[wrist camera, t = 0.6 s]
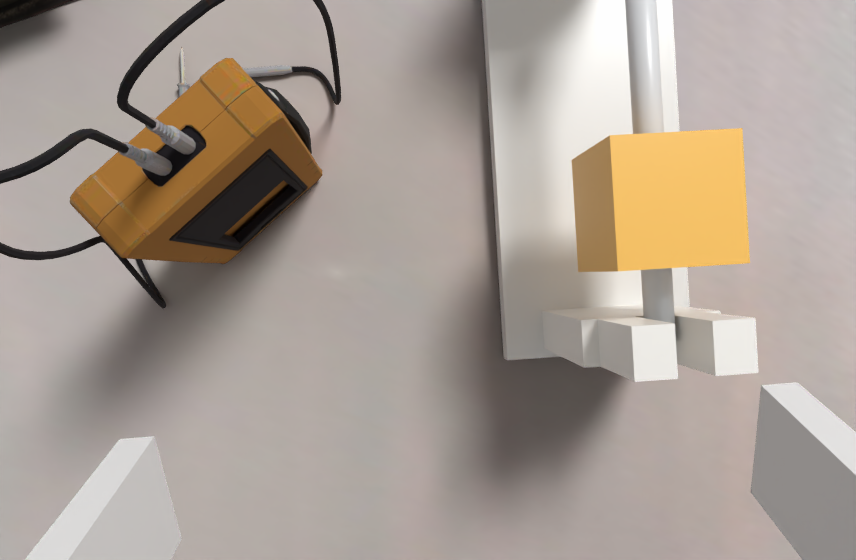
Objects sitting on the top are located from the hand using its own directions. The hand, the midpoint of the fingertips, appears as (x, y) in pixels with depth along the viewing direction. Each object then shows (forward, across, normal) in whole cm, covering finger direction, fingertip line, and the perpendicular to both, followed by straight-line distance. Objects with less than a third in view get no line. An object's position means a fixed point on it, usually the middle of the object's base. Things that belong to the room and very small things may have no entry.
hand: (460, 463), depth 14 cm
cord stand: (+24, -8, -4) cm, 25 cm away
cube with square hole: (+16, -9, -1) cm, 18 cm away
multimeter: (+23, +12, -5) cm, 26 cm away
